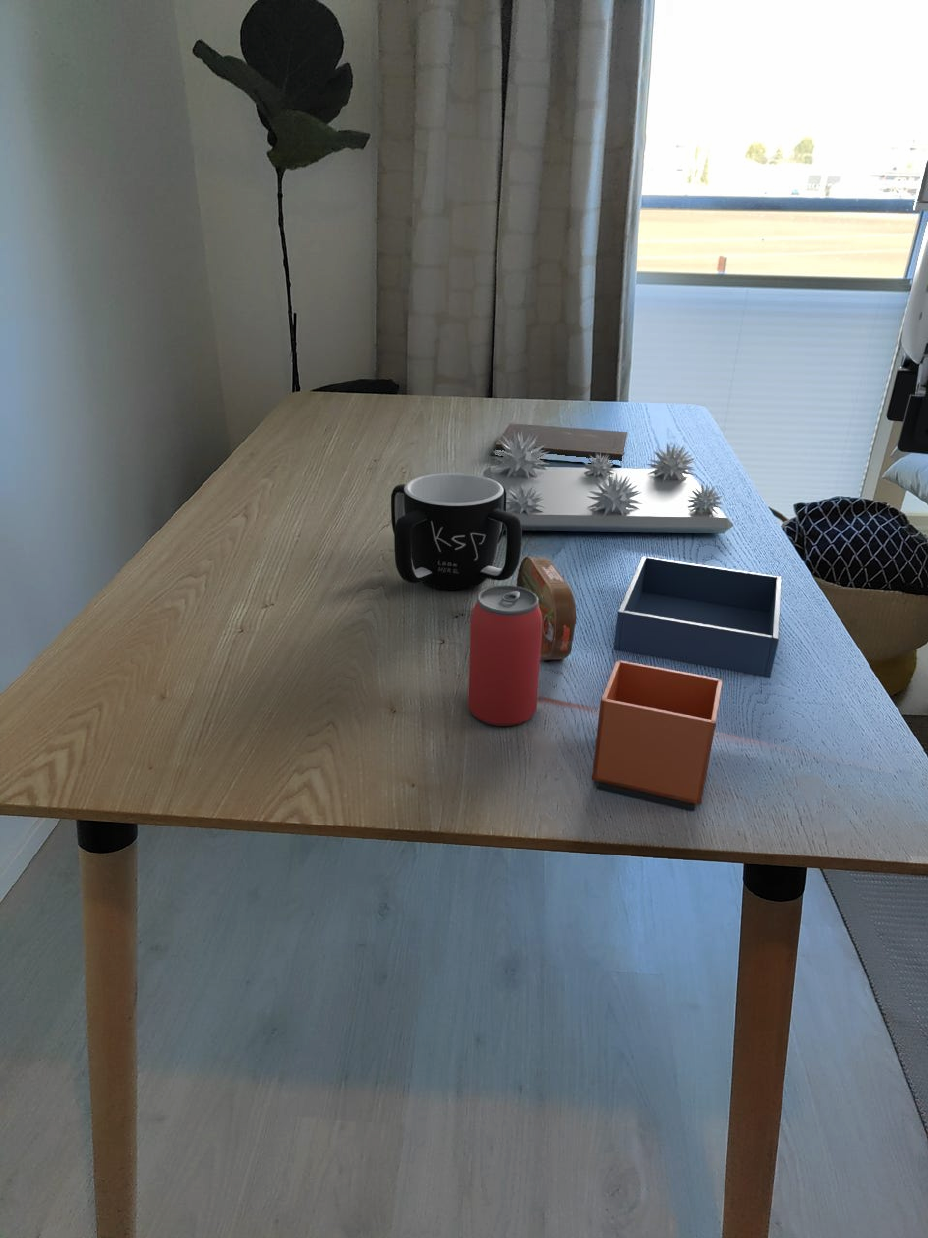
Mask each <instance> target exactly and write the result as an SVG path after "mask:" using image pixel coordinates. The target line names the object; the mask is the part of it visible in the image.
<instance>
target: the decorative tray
mask: <svg viewBox="0 0 928 1238" xmlns="http://www.w3.org/2000/svg"><path fill="white" fill-rule="evenodd" d="M533 434H534V433H533ZM529 436H530V435H529ZM503 437H504V436H503ZM532 437H533V435H532V436H531V437H530V439H529V437H528V438H527V440H526V442H525V443H523V436H522V430H521V436H520V437H519V433H518V438H516V435H515V431H514V444H513V442H512V441H511V440H510V442H509V441H508V440H507V439H506V438H505V437H504V439H505V441H506V442H507V444H508V446H509V447H508V446H506V445H505V444H504V443H502V442H501V441H499V442H500V443H501V445H502V446H503V447H504V449H505V450H506V452H507V453H504V452H497V451H495V450H493V453H494V454H495V453H496V454H499V455H501V456H503V457H501V456H491V458H492V459H495V460H497V461H499V462H502V463H500V464H498V465H490V466H489V467H487V468H486V469H485V470H484V471H483V472H482V474H483V475H482V476H483V477H486V478H489V479H492V480H494V481H496V482H498V483H499V484H501V485H503V486H504V487H505V490H506V512H509V513H511V514H514V515H516V516H517V517H518V518H519V520H520V522H521V526H522V531H547V532H549V531H551V532H553V531H554V532H604V533H605V532H608V533H609V532H611V533H612V532H614V533H621V532H622V533H669V534H670V533H673V534H674V533H675V534H677V533H679V534H725V533H726V532H728V531H729V530H731V529H732V528H733V527H734V524H733V522H732V521H731V520H730V519H729V517H728V516H727V515H726V514H725V512H724V511H723V510H722V509H724V508H723V507H721V506H719V505H723V506H724V505H725V504H724V503H722V502H720V501H719V500H721V499H723V498H724V496H723V495H720V496H718V495H719V494H720V492H719V490H716V485H714V486H713V487H712V488H711V489H710V485H709V484H708V483H707V484H706V486H705V487H704V484H703V483H701V484H700V483H699V482H698V480H697V479H696V478H695V477H694V476H695V474H693V473H692V472H689V471H695V468H694V467H693V466H689V465H690V464H692V463H695V462H696V461H697V459H696V458H690V457H691V456H693V454H692V453H691V454H689V452H690V451H689V450H688V451H686V452H685V450H686V448H687V446H685V445H682V447H681V448H680V449H679V446H676V442H673V445H672V446H673V447H672V449H671V446H670V445H669V443H666V452H665V451H663V450H662V449H661V448H660V447H659V446H656V447H657V449H658V451H659V452H660V453H659V452H658V451H654V454H655V455H656V457H657V458H658V459H659V460H656V459H649V458H648V459H647V460H648V461H649V462H652V463H646V465H647V466H649V467H650V468H622V467H621V468H617V467H616V468H615V467H614V466H613V465H615V464H613V463H610V462H612V461H613V460H612V461H609V462H608V460H609V459H610V458H609V459H607V458H608V456H609V455H608V456H607V455H606V456H607V457H606V456H605V457H604V455H603V457H602V459H601V452H600V457H599V455H597V453H596V460H595V459H594V458H592V457H591V456H590V457H591V458H592V460H593V461H591V460H590V459H589V458H588V459H589V461H590V462H591V464H585V463H583V464H584V465H586V466H584V467H565V466H564V467H561V466H542V465H549V463H547V462H544V461H543V460H538V459H537V458H539V457H541V456H543V455H544V454H546V453H548V452H545V453H541V452H543V451H544V450H541V451H539V450H540V449H541V448H542V447H544V446H545V445H544V446H541V447H538V448H536V449H533V448H534V446H535V445H536V443H537V441H536V442H535V440H536V438H537V437H536V438H535V439H534V440H533V441H532V443H531V444H530V442H531V439H532ZM529 444H530V445H529ZM684 452H685V453H684ZM688 454H689V455H688ZM605 458H606V459H605ZM653 463H654V464H653ZM611 464H612V465H611ZM715 490H716V491H715ZM714 491H715V492H714ZM504 531H506V526H505V527H504Z"/></svg>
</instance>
